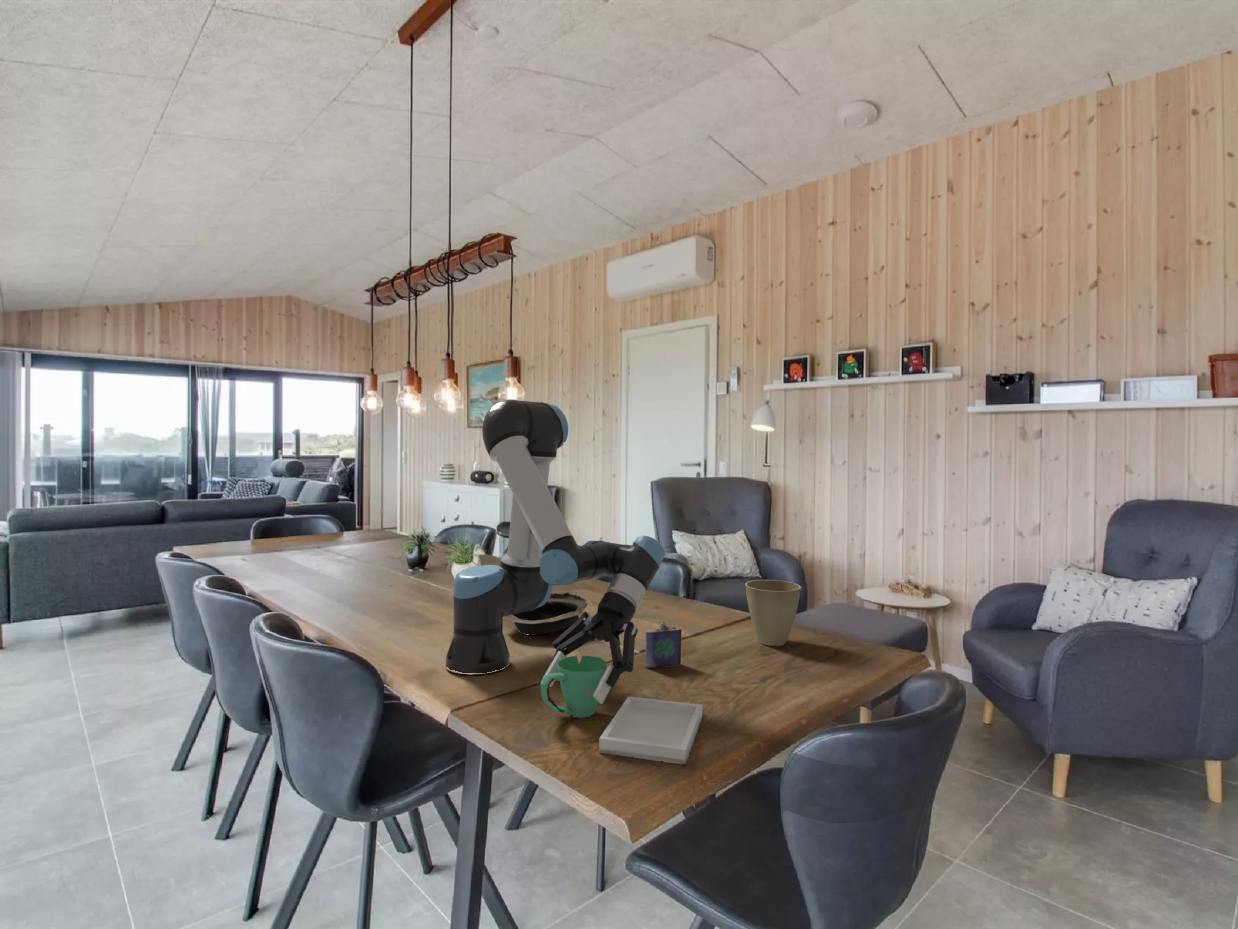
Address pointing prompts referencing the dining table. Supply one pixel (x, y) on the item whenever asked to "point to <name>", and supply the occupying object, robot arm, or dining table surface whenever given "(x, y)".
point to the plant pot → (772, 609)
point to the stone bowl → (550, 615)
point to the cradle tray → (652, 730)
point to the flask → (663, 647)
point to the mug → (576, 684)
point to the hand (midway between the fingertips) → (571, 691)
